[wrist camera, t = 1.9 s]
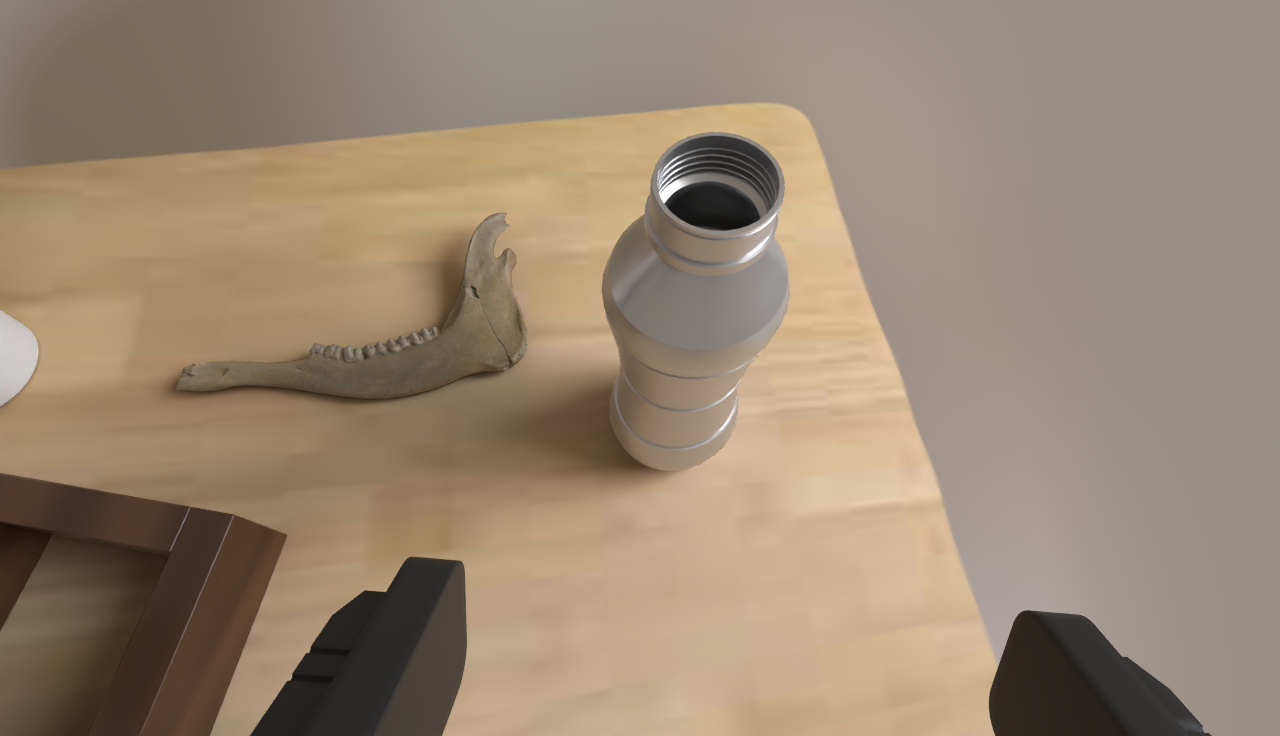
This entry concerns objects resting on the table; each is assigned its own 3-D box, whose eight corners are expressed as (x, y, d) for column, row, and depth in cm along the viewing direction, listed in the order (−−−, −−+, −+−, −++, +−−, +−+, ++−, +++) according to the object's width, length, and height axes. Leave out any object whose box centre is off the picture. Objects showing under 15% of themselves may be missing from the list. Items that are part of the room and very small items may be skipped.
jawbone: (579, 338, 38) (578, 323, 37) (239, 524, 34) (217, 519, 32) (506, 223, 41) (501, 205, 39) (179, 383, 36) (155, 371, 34)
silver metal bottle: (751, 448, 35) (889, 225, 17) (640, 503, 34) (662, 322, 16) (695, 352, 38) (765, 66, 20) (589, 399, 36) (557, 138, 18)
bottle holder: (-134, 794, 28) (-282, 820, 23) (36, 489, 34) (-55, 462, 29) (164, 855, 27) (73, 893, 23) (287, 534, 33) (234, 514, 28)
